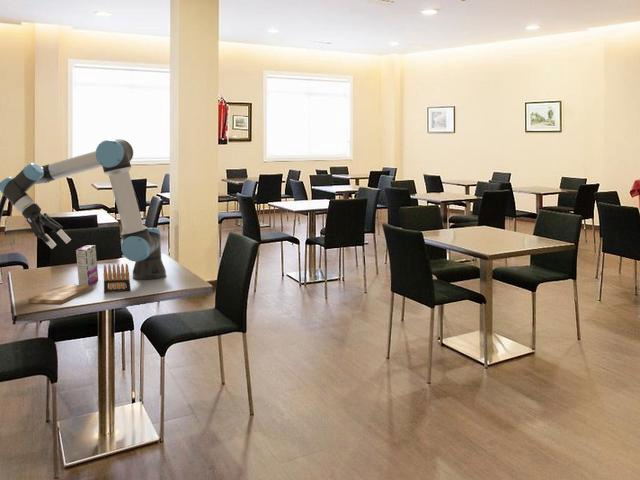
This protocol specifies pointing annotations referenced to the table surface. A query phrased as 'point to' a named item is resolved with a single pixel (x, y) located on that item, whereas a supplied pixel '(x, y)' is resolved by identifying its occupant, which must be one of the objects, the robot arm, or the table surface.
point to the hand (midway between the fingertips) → (61, 244)
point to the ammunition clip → (116, 279)
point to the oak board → (60, 294)
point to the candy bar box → (87, 265)
